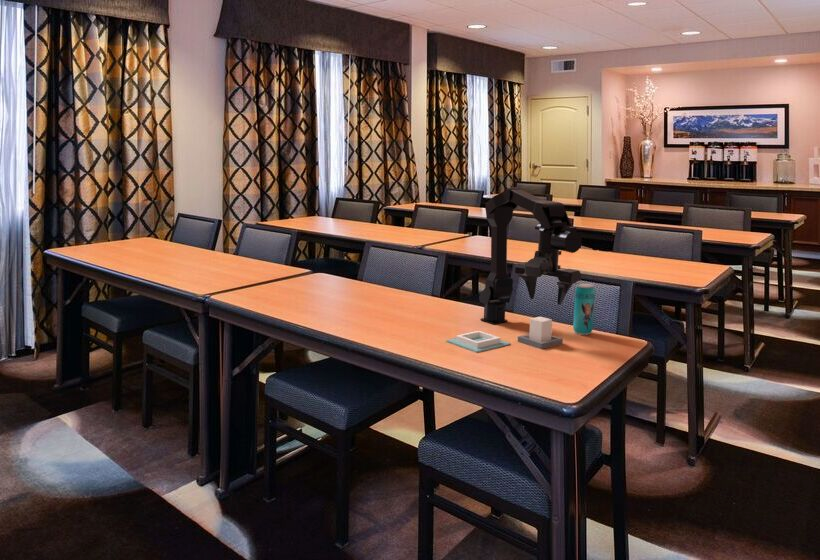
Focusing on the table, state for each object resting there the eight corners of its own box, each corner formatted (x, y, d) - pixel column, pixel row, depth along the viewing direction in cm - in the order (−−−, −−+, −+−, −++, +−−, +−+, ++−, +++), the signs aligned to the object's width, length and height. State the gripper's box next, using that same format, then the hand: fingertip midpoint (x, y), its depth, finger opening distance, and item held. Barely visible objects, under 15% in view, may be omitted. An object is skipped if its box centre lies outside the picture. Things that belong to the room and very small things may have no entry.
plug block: (528, 342, 180) (530, 318, 178) (540, 339, 183) (541, 316, 181) (540, 345, 176) (541, 321, 175) (552, 342, 179) (553, 319, 178)
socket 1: (445, 341, 180) (446, 335, 179) (479, 334, 187) (479, 328, 187) (476, 352, 169) (476, 346, 169) (510, 344, 177) (510, 338, 177)
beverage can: (579, 336, 186) (582, 287, 183) (569, 331, 191) (572, 283, 188) (596, 335, 187) (599, 286, 184) (585, 330, 193) (588, 282, 190)
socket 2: (517, 341, 180) (517, 336, 180) (538, 336, 186) (538, 331, 185) (541, 349, 173) (541, 343, 173) (562, 343, 179) (562, 338, 178)
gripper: (504, 246, 175) (501, 300, 179) (561, 254, 162) (557, 312, 165) (527, 242, 183) (524, 294, 186) (584, 250, 170) (580, 306, 173)
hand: (545, 301), depth 177 cm, fingers open, 9 cm apart
